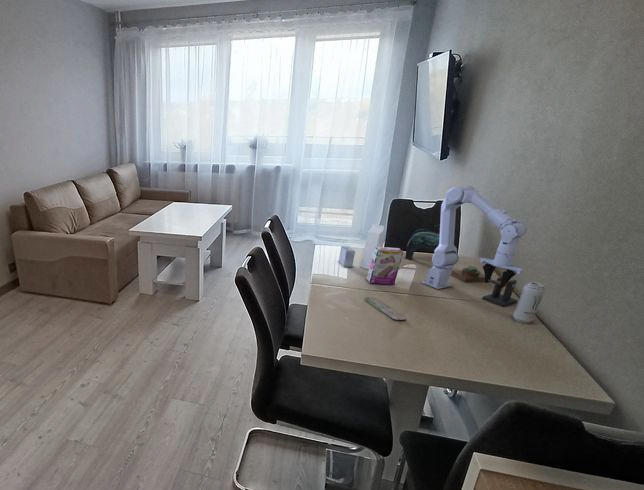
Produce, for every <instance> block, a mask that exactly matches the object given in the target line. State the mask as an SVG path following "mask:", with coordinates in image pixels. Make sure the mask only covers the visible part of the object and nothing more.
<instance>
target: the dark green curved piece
mask: <svg viewBox="0 0 644 490" xmlns="http://www.w3.org/2000/svg"><path fill="white" fill-rule="evenodd" d="M438 226H439V227H440V224H436V225H434V228H436V227H438ZM419 231H420V232H419ZM439 238H440V232H434V231H431V230H429V229H423V228H421V229H417V230H415V231H414V232H413V233H412V235H411V237H410V239H409V240H408V242H407V245H406V248H405V257H404V258H405V259H406V260H413V256H414V253H415V252H417V251H419V250H420V251H421V250H424V251H425V250H426V251H429V252H432V253H434V251H435V249H436V248H437V247H438V246H439ZM455 238H456V235H454V239H455Z"/></svg>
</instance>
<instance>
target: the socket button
mask: <svg viewBox="0 0 644 490" xmlns="http://www.w3.org/2000/svg"><path fill="white" fill-rule="evenodd" d="M466 268H467V271H470V272H477V270H478V268H477V267H476V266H472V265H469V266H467V267H466Z"/></svg>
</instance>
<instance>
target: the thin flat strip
mask: <svg viewBox="0 0 644 490" xmlns="http://www.w3.org/2000/svg"><path fill="white" fill-rule="evenodd" d="M365 301H367V302H368V303H369V304H370V305H372V306H373V307H374V308H376V309H377V310H379V311H380V312H382V313H383V314H385V315H386V316H388V317H389V318H391V319H393V320H396V321H397V320H399V321H400V320H401V321H402V320H406V317H404V316H402V315H401V314H400V313H398V312H397V311H395V310H394V309H392V308H390V307H389V306H388V305H385V304H384V303H383V302H381V301H379V300H378V299H377V298H376V297H368V296H367V298H365Z"/></svg>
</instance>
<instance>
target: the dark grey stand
mask: <svg viewBox="0 0 644 490" xmlns="http://www.w3.org/2000/svg"><path fill="white" fill-rule="evenodd" d="M496 281H502V276H500V277H497V278H496ZM516 285H517V280H516V279H513V280H509V281H508V283H507V286H506V287H505V289H504V291H503V294H502V290H503V288H499V285H496V284H494V287H493V289H492V292H491V294H487V295H483V296H482V300H484V301H487V302H489V303H492V304H495V305H497V306H501V307H502V308H503V307H507V306H509V305H513V304H515V303H518V299H517V298H513V297H512V294H513V292H514V289H515V286H516Z"/></svg>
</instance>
